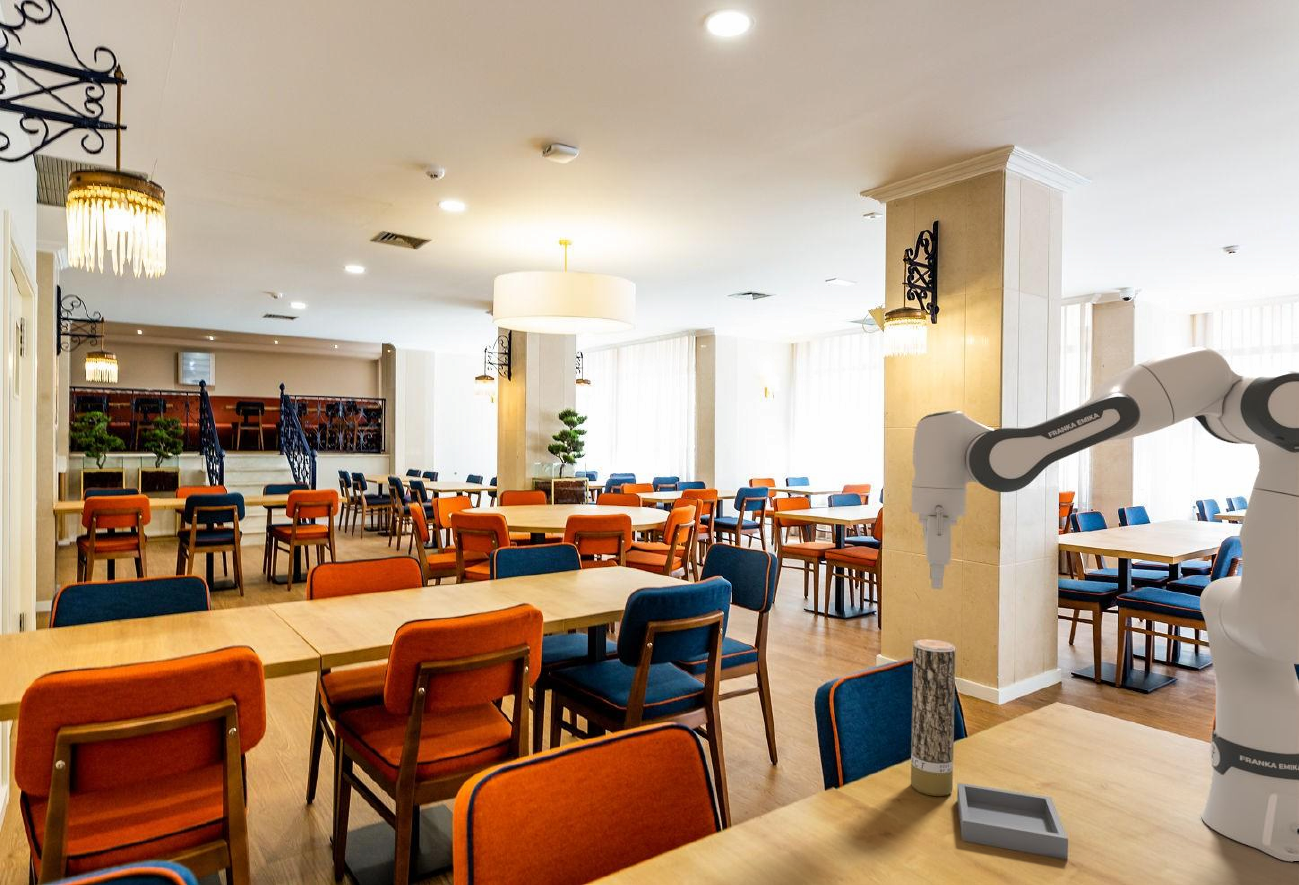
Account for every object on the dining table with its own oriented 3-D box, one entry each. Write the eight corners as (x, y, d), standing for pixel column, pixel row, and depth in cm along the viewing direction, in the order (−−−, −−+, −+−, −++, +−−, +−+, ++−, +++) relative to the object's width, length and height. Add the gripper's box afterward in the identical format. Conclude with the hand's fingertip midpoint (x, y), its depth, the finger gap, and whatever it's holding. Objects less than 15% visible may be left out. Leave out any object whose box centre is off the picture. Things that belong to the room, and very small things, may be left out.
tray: (1050, 816, 121) (1051, 797, 121) (1067, 859, 108) (1067, 838, 108) (957, 800, 126) (957, 782, 126) (962, 840, 112) (962, 820, 113)
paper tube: (945, 781, 133) (948, 640, 133) (957, 799, 126) (960, 650, 127) (906, 779, 134) (909, 638, 134) (916, 796, 127) (919, 648, 127)
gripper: (961, 509, 120) (958, 595, 120) (954, 502, 139) (952, 576, 139) (919, 506, 122) (916, 592, 122) (918, 500, 141) (916, 574, 141)
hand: (936, 583), depth 130 cm, fingers open, 8 cm apart
